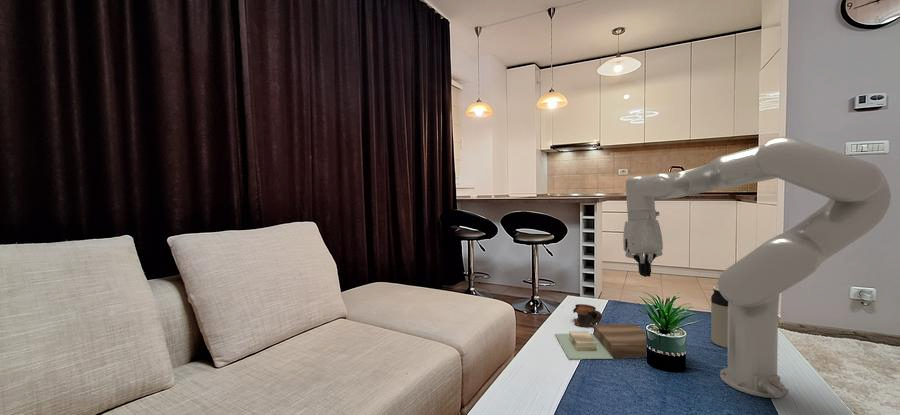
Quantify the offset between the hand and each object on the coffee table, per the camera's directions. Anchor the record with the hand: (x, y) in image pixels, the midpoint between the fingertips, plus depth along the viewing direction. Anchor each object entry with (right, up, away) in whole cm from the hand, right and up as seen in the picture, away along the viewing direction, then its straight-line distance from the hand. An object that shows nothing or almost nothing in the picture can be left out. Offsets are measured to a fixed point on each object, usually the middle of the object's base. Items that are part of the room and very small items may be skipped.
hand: (645, 275), depth 107 cm
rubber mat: (-17, -24, +6) cm, 30 cm away
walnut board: (-4, -24, +5) cm, 24 cm away
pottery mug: (-8, -23, +24) cm, 34 cm away
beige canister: (+28, -23, +3) cm, 36 cm away
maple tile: (-17, -21, +6) cm, 28 cm away
